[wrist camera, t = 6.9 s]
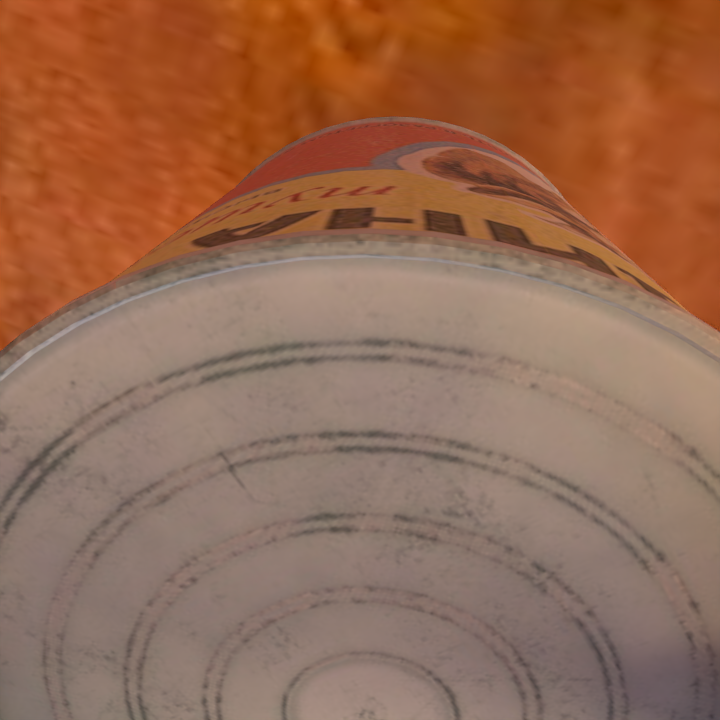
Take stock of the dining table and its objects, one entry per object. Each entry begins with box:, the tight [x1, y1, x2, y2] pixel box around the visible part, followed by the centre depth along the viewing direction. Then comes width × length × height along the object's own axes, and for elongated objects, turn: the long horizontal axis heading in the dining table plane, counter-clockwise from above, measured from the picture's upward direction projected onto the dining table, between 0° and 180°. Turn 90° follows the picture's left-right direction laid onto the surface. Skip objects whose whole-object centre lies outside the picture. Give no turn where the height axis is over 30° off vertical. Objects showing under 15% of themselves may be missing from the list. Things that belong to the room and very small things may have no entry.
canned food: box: [0, 117, 720, 720], centre depth 13 cm, size 11×11×12 cm
